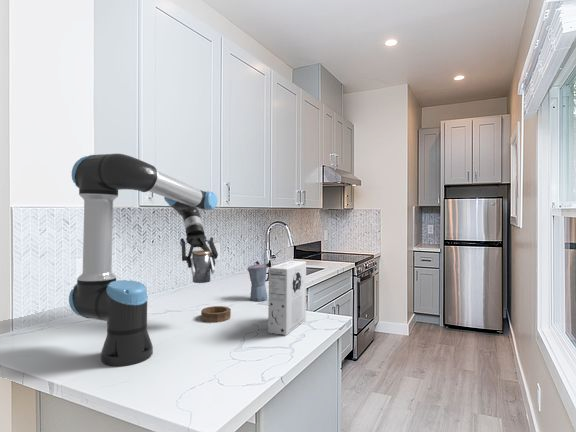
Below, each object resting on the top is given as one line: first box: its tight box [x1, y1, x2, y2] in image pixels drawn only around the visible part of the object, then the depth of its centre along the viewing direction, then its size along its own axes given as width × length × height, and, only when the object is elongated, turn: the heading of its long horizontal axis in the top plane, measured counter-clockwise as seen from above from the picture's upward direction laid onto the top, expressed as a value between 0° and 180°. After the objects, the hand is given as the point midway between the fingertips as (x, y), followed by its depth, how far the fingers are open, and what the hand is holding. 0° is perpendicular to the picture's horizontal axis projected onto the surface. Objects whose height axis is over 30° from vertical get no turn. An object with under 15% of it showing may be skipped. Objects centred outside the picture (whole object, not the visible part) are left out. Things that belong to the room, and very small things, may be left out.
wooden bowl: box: [200, 305, 232, 323], centre depth 160 cm, size 12×12×4 cm
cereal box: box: [267, 260, 307, 336], centre depth 150 cm, size 22×8×25 cm, turn 157°
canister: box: [191, 249, 211, 284], centre depth 150 cm, size 7×7×12 cm
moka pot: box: [246, 260, 272, 302], centre depth 193 cm, size 10×15×20 cm, turn 137°
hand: (203, 272), depth 147 cm, fingers closed on canister, 7 cm apart
